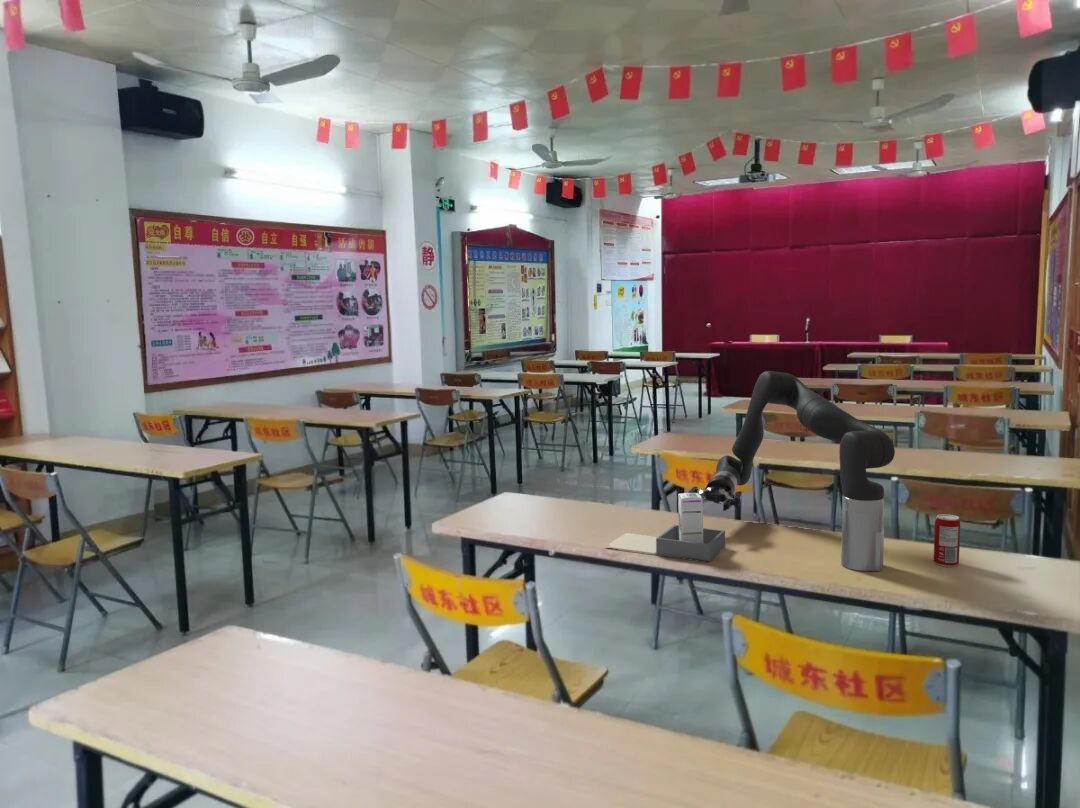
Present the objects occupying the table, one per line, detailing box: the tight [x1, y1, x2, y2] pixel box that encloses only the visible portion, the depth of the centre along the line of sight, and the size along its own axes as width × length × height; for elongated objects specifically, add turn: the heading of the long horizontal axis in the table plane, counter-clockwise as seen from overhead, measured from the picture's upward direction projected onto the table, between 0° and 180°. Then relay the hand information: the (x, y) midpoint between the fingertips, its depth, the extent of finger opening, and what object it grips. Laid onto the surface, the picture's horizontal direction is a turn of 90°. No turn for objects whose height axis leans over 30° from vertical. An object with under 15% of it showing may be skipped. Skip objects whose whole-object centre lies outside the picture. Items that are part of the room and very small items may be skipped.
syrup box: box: [677, 492, 704, 543], centre depth 206 cm, size 6×6×14 cm
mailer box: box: [605, 524, 726, 563], centre depth 210 cm, size 28×14×4 cm, turn 61°
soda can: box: [933, 513, 961, 567], centre depth 191 cm, size 6×6×12 cm
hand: (708, 505), depth 215 cm, fingers open, 8 cm apart
